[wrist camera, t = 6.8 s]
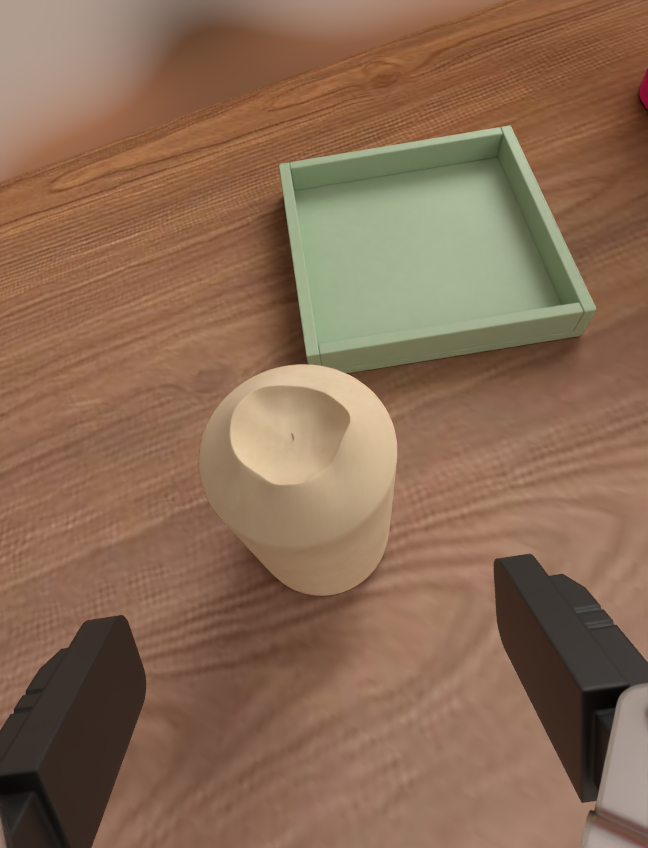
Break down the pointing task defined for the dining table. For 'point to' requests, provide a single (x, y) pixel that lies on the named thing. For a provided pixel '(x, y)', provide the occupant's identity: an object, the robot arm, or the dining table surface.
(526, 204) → the tray
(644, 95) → the pepper mill
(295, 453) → the candle
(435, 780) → the dining table surface
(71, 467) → the dining table surface
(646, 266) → the dining table surface
